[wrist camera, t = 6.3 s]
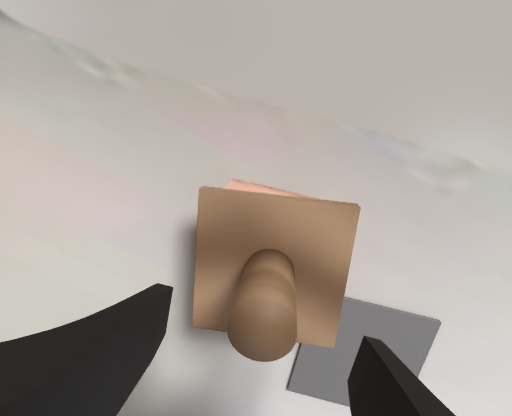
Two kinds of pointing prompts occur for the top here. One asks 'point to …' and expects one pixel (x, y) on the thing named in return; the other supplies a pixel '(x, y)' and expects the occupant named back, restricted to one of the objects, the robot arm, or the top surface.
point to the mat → (348, 342)
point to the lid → (271, 269)
